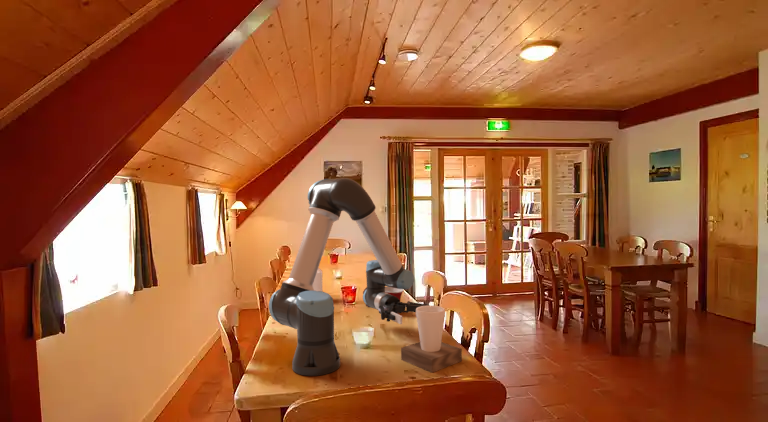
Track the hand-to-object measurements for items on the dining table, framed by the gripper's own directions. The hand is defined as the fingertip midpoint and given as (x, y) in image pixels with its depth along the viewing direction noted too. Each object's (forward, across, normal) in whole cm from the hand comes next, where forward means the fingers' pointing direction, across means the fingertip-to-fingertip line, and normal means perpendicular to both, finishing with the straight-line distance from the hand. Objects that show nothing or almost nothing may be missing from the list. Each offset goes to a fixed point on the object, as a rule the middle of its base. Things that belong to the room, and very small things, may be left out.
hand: (418, 317), depth 147 cm
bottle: (-89, +7, -13) cm, 90 cm away
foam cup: (+8, 0, -9) cm, 11 cm away
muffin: (-66, -18, -13) cm, 70 cm away
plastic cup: (-48, -17, -13) cm, 52 cm away
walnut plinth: (+8, 0, -12) cm, 15 cm away
